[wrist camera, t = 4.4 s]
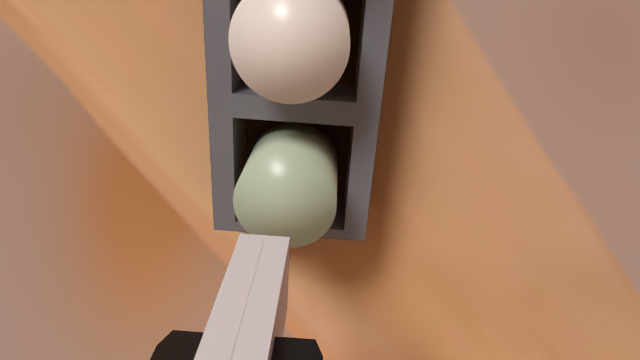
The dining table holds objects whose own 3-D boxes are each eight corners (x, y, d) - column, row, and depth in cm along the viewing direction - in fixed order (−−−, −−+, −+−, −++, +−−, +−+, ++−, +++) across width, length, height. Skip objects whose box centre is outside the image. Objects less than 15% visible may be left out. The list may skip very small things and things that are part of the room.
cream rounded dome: (250, -30, 18) (226, -27, 14) (353, -23, 18) (355, -18, 14) (250, 73, 19) (230, 100, 16) (344, 80, 19) (345, 108, 16)
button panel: (213, -253, 16) (187, -296, 13) (414, -241, 16) (428, -282, 13) (228, 199, 24) (213, 229, 21) (362, 209, 24) (364, 241, 21)
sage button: (251, 118, 20) (231, 153, 17) (341, 125, 20) (340, 161, 17) (252, 198, 22) (234, 244, 18) (334, 204, 22) (332, 251, 18)
